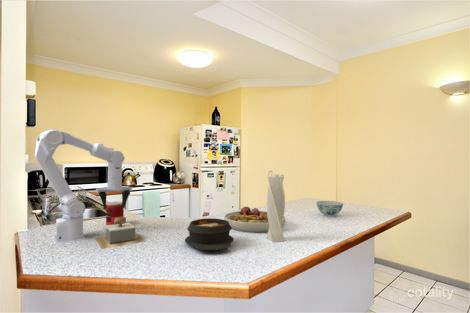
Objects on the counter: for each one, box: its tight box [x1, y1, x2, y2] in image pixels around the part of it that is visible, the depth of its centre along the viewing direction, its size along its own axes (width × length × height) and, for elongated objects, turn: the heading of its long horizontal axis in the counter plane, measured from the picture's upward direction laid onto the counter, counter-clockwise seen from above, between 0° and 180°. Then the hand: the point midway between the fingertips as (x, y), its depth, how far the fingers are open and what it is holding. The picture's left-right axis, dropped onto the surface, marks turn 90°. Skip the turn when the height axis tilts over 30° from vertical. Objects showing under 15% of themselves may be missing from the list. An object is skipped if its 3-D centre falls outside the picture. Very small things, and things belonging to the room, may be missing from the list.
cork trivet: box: [94, 231, 147, 250], centre depth 105 cm, size 16×16×1 cm
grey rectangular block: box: [104, 222, 136, 244], centre depth 106 cm, size 10×9×5 cm
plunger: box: [115, 216, 127, 227], centre depth 105 cm, size 7×7×8 cm
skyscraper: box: [266, 170, 286, 243], centre depth 109 cm, size 8×8×28 cm
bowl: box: [223, 206, 286, 233], centre depth 132 cm, size 30×30×8 cm
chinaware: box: [315, 200, 344, 218], centre depth 158 cm, size 15×15×8 cm
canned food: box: [105, 201, 125, 226], centre depth 131 cm, size 8×8×11 cm
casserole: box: [184, 217, 234, 251], centre depth 102 cm, size 25×19×8 cm
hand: (114, 208), depth 119 cm, fingers open, 7 cm apart
